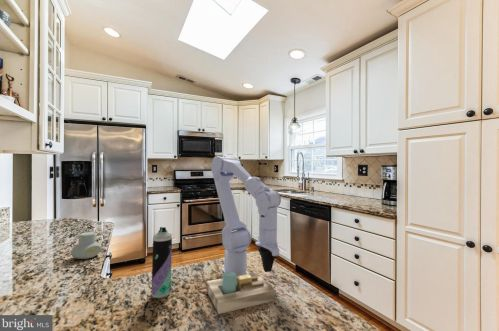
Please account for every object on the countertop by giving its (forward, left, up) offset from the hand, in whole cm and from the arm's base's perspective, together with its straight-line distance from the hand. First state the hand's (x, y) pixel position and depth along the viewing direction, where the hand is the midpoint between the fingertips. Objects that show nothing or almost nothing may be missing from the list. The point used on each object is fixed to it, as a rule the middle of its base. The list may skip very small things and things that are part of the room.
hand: (267, 270), depth 75 cm
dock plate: (+1, -10, -6) cm, 11 cm away
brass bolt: (+1, -8, -2) cm, 9 cm away
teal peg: (+1, -13, -6) cm, 15 cm away
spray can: (-10, -31, -6) cm, 33 cm away
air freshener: (-55, -59, -6) cm, 81 cm away
